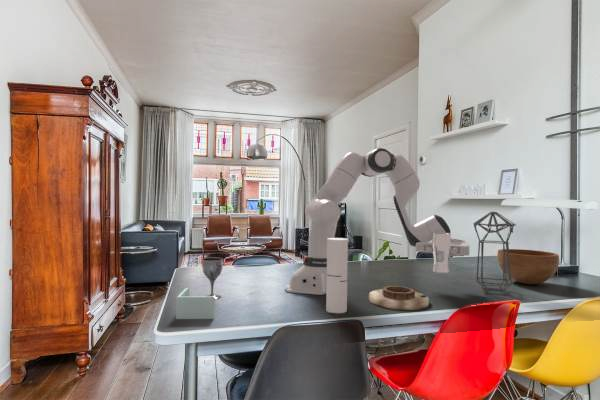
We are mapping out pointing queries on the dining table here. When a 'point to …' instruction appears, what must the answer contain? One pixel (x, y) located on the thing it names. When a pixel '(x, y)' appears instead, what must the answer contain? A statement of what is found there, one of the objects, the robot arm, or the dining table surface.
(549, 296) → the dining table surface
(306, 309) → the dining table surface
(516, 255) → the bowl
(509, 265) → the geometric lantern
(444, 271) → the beer glass
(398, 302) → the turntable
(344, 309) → the cylindrical container
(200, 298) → the right angle wall
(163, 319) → the dining table surface
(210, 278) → the wine glass
